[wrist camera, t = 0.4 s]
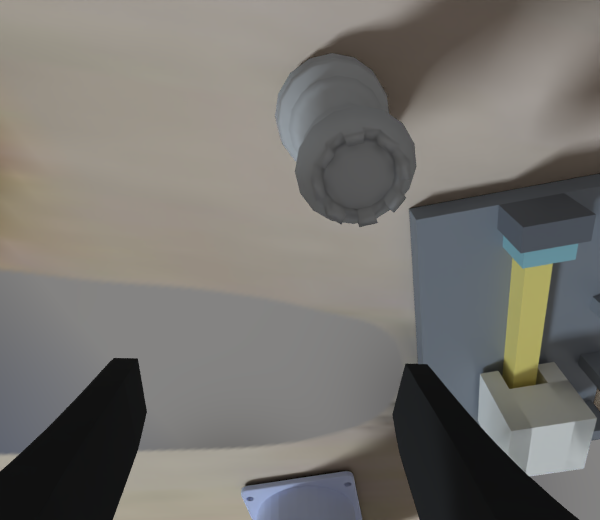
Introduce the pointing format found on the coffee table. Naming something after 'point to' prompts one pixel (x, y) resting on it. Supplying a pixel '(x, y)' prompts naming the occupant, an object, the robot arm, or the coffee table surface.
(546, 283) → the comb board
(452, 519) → the robot arm
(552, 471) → the sleeve
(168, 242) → the coffee table surface
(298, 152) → the rook chess piece
